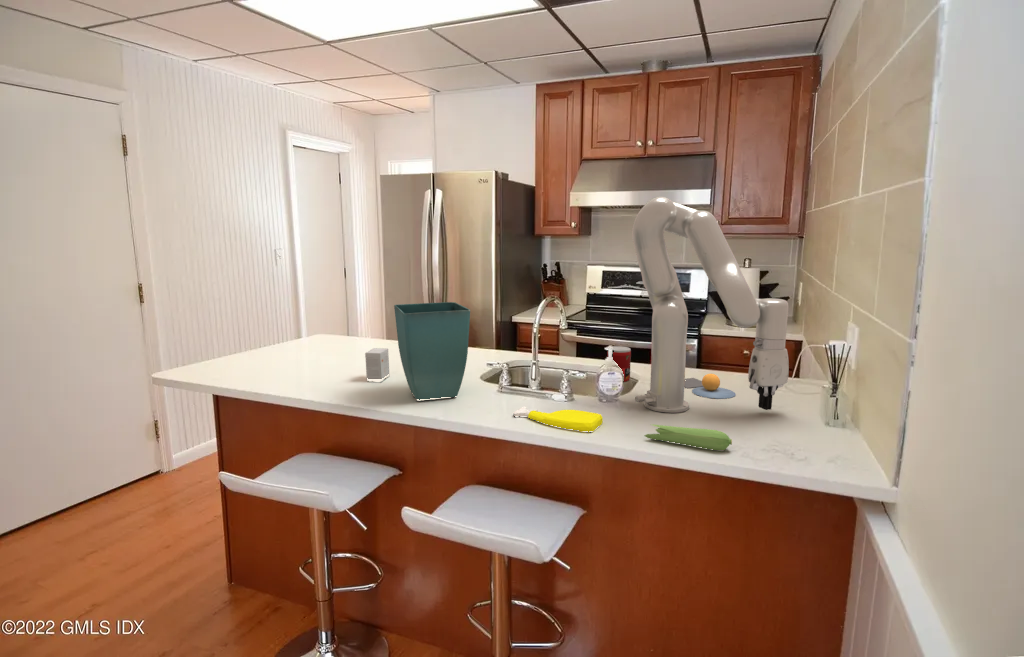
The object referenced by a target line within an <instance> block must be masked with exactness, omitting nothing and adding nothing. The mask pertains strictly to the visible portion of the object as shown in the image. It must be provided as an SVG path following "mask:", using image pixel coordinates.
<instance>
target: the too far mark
mask: <svg viewBox="0 0 1024 657" xmlns="http://www.w3.org/2000/svg"><path fill="white" fill-rule="evenodd" d="M685 380H686V381H685V383H684V387H685V388H684V389H686V388H687V389H694V388H695V387H696V388H697V387H703V385H702V380H700V379H698V378H696V377H690V378H689V377H688V378H685Z"/></svg>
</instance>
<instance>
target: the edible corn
mask: <svg viewBox="0 0 1024 657" xmlns="http://www.w3.org/2000/svg"><path fill="white" fill-rule="evenodd" d="M650 426H654V427H657V428H656V429H655V432H656V433H647V434H644V437H645V438H647V439H649V440H650V439H656V440H663V441H669V442H675V443H680V444H686V445H691V446H696V447H702V448H707V449H713V450H724V451H725V450H727V448H729V446H730V445H732V444H733V438H730V436H729V435H728V434H727V433H725V432H723V431H720V430H717V429H708V428H696V427H695V428H694V427H685V426H681V427H680V426H671V425H662V424H650ZM656 440H655V441H656Z"/></svg>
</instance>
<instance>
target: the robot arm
mask: <svg viewBox="0 0 1024 657" xmlns="http://www.w3.org/2000/svg"><path fill="white" fill-rule="evenodd" d="M631 231H632V243H633V247H634V251H635V255H636V259H637V263H638V267H639V271H640V273H641V278H642V284H643V286H644V288H645V289H646V292H647V295H648V298H649V301H650V305H651V308H652V316H651V356H650V357H651V361H650V383H649V384H650V389H649V390H646V393H644V394H639V395H635V396H634V400H635V402H636V403H641V402H644V407H646V408H647V409H649V410H651V411H655V412H660V413H669V414H670V413H671V414H674V413H675V414H677V413H682V412H683V413H684V412H686V411H688V410H689V409H690V403H689V402H688V401H686V400H685V388H684V383H685V379H686V377H685V376H686V361H687V359H686V358H687V357H686V354H687V336H688V325H689V322H688V321H689V314H688V308H687V304H686V301H685V300H684V299H685V298H684V296H683V295H684V294H683V292H682V288H681V284H680V281H679V278H678V275H677V274H678V273H677V271H676V269H675V268H674V266H673V264H672V262H671V258H670V255H669V252H668V247H667V244H666V241H665V240H666V239H665V234H664V233H665V232H668V233H670V234H674V235H676V236H679V237H682V238H685V239H688V241H689V242H690V245H691V246H692V248H693V251H694V252H695V255H696V256H697V258H698V261H699V262H700V265H701V267H702V269H703V271H704V273H705V274H706V276H707V278H708V280H709V282H711V284H712V285H713V287H714V288H715V290H716V292H717V294H718V295H719V298H720V300H721V301H722V303H723V305H724V308H725V310H726V314H727V316H728V318H729V319H730V320H731V322H732V323H733V324H734V325H735V326H737V327H738V328H741V329H742V328H744V329H746V328H751V327H753V326H756V327H755V340H754V341H753V342H752V344H753V346H754V348H752V351H751V352H752V353H751V355H750V360H749V364H748V366H749V367H748V374H747V375H748V376H747V377H748V382H749V385H748V386H749V389H751V390H752V391H756V392H757V394H758V396H759V397H758V406H757V407H758V408H759V409H763V410H765V411H771V410H772V408H773V407H772V406H773V396H775V394H776V391H777V390H778V389H779V388H782V387H783V386H784V385H786V384H787V383H788V381H789V371H790V370H789V368H790V367H789V366H790V365H789V364H790V363H789V354H788V353H789V352H788V349H787V348H786V340H787V328H788V316H789V303H788V301H787V300H786V299H782V298H775V297H773V298H771V297H769V298H768V297H767V298H756V297H755V296H754V294H753V292H752V290H751V289H750V286H749V284H748V282H747V280H746V279H745V276H744V275H743V272H742V270H741V266H740V265H739V263H738V260H737V259H736V257H735V255H734V253H733V250H732V249H731V247H730V244H729V243H728V241H727V239H726V237H725V235H724V233H723V231H722V229H721V227H720V225H719V222H718V220H717V218H716V217H715V216H714V214H712V213H711V212H710V211H707V210H700V209H699V210H698V209H695V208H692V207H689V206H686V205H682V204H680V203H677V202H674V201H673V200H671V199H670V198H668V197H665V196H657V197H654V198H652V199H650V200H649V201H647V203H646V204H644V206H643V207H642V208H641V209H640V210H639V212H638V213H637V214H636V217H635V219H634V222H633V225H632V230H631Z"/></svg>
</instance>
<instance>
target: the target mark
mask: <svg viewBox="0 0 1024 657" xmlns="http://www.w3.org/2000/svg"><path fill="white" fill-rule="evenodd" d="M691 392H692V394H694V395H695V394H696V396H698V397H701V396H702V398H705V397H707V399H713V398H715V400H721V399H722V400H727V398H728V399H732V398H735V397H736V395H737V394H736V392H735V391H734V390H732V389H727V388H725V387H724V388H723V387H720V386H719V387H718V388H717V389H716V390H714V391H709V390H707V389H705V388H704V387H696V388H692V390H691Z"/></svg>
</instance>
